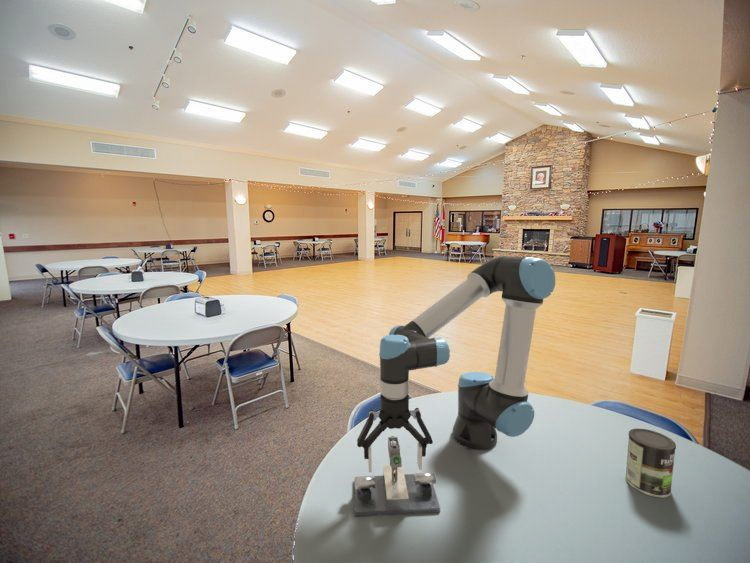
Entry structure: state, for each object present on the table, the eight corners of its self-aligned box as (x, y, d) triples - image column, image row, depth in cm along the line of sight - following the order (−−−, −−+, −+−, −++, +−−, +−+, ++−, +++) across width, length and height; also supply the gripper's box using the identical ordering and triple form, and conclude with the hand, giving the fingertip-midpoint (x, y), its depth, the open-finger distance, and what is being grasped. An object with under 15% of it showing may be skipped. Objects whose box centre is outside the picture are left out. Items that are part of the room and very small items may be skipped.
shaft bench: (429, 477, 101) (429, 458, 100) (440, 512, 88) (440, 490, 87) (355, 480, 100) (354, 461, 99) (354, 516, 87) (354, 494, 86)
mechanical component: (391, 493, 88) (391, 458, 87) (387, 467, 99) (387, 435, 97) (402, 493, 89) (402, 457, 87) (397, 467, 99) (397, 434, 97)
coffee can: (678, 489, 95) (683, 442, 93) (659, 503, 90) (664, 453, 88) (636, 468, 104) (640, 424, 102) (617, 479, 99) (621, 434, 97)
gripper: (437, 386, 95) (437, 457, 97) (347, 389, 93) (349, 460, 96) (444, 398, 87) (443, 475, 90) (346, 402, 86) (348, 479, 89)
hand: (394, 467), depth 93 cm, fingers open, 13 cm apart
